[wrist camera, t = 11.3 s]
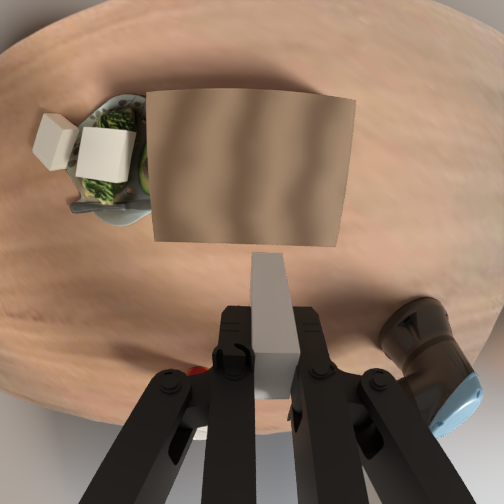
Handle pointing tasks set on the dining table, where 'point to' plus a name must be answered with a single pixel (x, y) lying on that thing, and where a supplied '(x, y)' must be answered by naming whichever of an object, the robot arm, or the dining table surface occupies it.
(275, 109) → the block
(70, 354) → the dining table surface
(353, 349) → the dining table surface
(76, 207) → the salad plate
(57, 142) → the tile
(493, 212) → the dining table surface
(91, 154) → the tile
